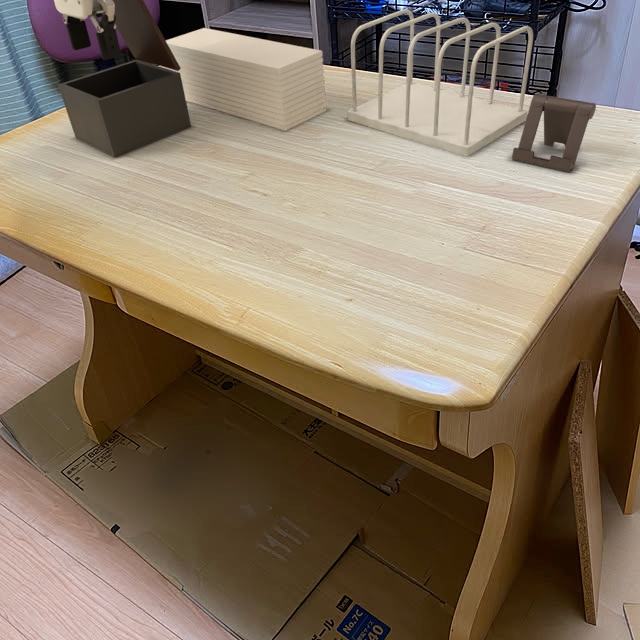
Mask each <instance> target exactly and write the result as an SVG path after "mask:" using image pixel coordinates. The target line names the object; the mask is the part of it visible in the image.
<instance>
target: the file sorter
mask: <svg viewBox="0 0 640 640" xmlns="http://www.w3.org/2000/svg"><path fill="white" fill-rule="evenodd" d="M405 14H407V15H408V17H409V19H410V20H407V21H404V22H401V23H398V24H396V25H394V26H391V27H389V28H387V30H385V32H384V33H383V34H382V36H381V39H380V42H379V47H378V96H376V97H374V98H372V99H369V100H368V101H365V102H363V103H362V104H361V103H360V104H359V105H357V77H356V75H357V74H356V73H357V72H356V41H357V37H358V35H359V34H360V33H361V32H362V31H363V30H365V29H368V28H371V27H373V26H377V25H378V24H380V23H383V22H386V21H388V20H391V19H394V18H396V17H399V16H401V15H405ZM429 18H434V19H435V22H436V26H433V27H431V28H429V29H428V28H427V29H426V30H423V31H421V32H417V34H416V35H415V24H416V23H419V22H422V21H424V20H428V19H429ZM460 23H464V24H465V28H466V31H465V32H463V33H461V34H459V35H457V36H454V37H451V38H449V39H447V40H446V41H445V42H444V43H443V44H442V46H441V45H440V44H441V30H443V29H446V28H449V27H452V26H454V25H458V24H460ZM409 26H410V29H409V30H410V33H409V40H410V41H409V46H408V49H407V56H406V57H407V60H406V83H404V84H401V85H399V86H397V87H395V88H393V89H391V90H388V91H386V92H384V93H383V88H384V85H383V83H384V50H385V49H384V47H385V42H386V40H387V38H388V37H389V35H390V34H391V33H393V32H395V31H398V30H400V29H404V28H406V27H409ZM492 28H494V29H495V32H496V33H495V34H496V35H495V36H496V37H495V39H494V40H492V41H490V42H488V43H485V44H484V45H482V46H481V47H479V48H478V49H477V51H476V52H475V55H474V56H473V59H472V62H471V65H470V73H469V83H468V84H469V85H468V95H467V94H465V92H466V82H467V73H468V72H467V71H468V63H469V62H468V61H469V52H470V43H471V42H470V41H471V36H474V35H476V34H479V33H481V32H484V31H486V30H488V29H492ZM501 31H502V30H501V27H500V25H499V23H497V22H489V23H487V24H484V25H481V26H479V27H477V28H474V29H472V30H471V23H470V21H469V19H468V18H467V17H458V18H456V19H453V20H449V21H448V22H444V23H442V24H441V18H440V16H439V15H438V13H436V12H429V13H426V14H424V15H420V16H418V17H415V18H414V14H413V12H412V11H411V10H410V9H406V8H404V9H401V10H398V11H395V12H392V13H390V14H387V15H384V16H382V17H379V18H377V19H374V20H371V21H368V22H367V23H364V24H361V25H359V26H358V27H357V28H356V29H355V30H354V32H353V33H352V37H351V40H350V64H351V65H350V67H351V92H352V93H351V94H352V95H351V96H352V108H351V109H349V110H347V121H349V122H352V123H355V124H358V125H362V126H365V127H369V128H371V129H375V130H377V131H378V130H379V131H381V132H384V133H387V134H392V135H394V136H397V137H400V138H404V139H407V140H410V141H414V142H417V143H421V144H424V145H426V146H431V147H433V148H436V149H437V148H438V149H440V150H442V151H443V150H444V151H447V152H451V153H454V154H457V155H460V156H463V157H469V156H471V155H472V154H474V153H476V152H477V151H480V150H481V149H482V148H484V147H486V146H487V145H489V144H491V143H492V142H493V141H496V140H497V139H499V138H500V137H502V136H504V135H505V134H507V133H508V132H509V131H511V130H514V128H516V127H518V126H519V125H521V124H522V123H525V122H526V118H527V115H528V111H529V110H527V109H524V108H523V107H524V103H525V96H526V91H527V83H528V77H529V69H530V63H531V55H532V50H533V44H534V43H533V42H534V31H533V29H532V27H530V26H528V25H524V26H522V27H519V28H517V29H515V30H513V31H511V32H509V33H507V34H505V35H503V36H501V34H502V33H501ZM435 32H436V37H435V38H436V41H435V58H434V59H435V60H434V80H433V86H430V85H425V84H422V83H417V82H414V81H413V79H414V78H413V76H414V75H413V74H414V48H415V45H416V43H417V42H418V41H419V39H421V38H423V37H425V36H429V35H431V34H433V33H435ZM524 32H527V34H528V40H527V41H528V42H527V48H526V50H527V51H526V55H525V63H524V70H523V75H522V81H521V82H522V83H521V88H520V89H521V90H520V94H519V95H520V96H519V98H520V99H519V103H518V107H514V106H510V105H507V104H503V103H499V102H495V101H493V100H494V94H495V93H494V92H495V86H496V85H495V84H496V77H497V69H498V62H499V52H500V46H501V45H500V44H501V43H503V42H505V41H507V40H509V39H511V38H514V37H515V36H518V35H519V34H521V33H524ZM463 39H465V43H464V45H465V46H464V54H463V55H464V56H463V66H462V75H461V86H460V93H459V92H455V91H451V90H447V89H443V88H441V80H442V63H443V57H444V54H445V51H446V50H447V48H448V47H449V46H450V45H452V44H454V43H456V42H460V41H462V40H463ZM440 46H441V47H440ZM492 47H494V54H493V62H492V71H491V80H490V87H489V96H488V100H487V99H483V98H480V97H475V96H474V85H475V78H476V77H475V76H476V70H477V64H478V61H479V59H480V57H481V55H482V54H483V53H484V52H485V51H486V50H488V49H490V48H492Z"/></svg>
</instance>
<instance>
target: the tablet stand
mask: <svg viewBox="0 0 640 640" xmlns="http://www.w3.org/2000/svg"><path fill="white" fill-rule="evenodd" d="M596 108H597V104H596V103H594V102H590V101H589V102H588V101H582V100H576V99H571V98H564V97H558V96H552V95H545V94H539V93H535V94H534V95H532V98H531V101H530V104H529V108H528V110H527V111H528V113H527V118H526V121H524V126H523V129H522V133H521V135H520V140H519V144H518V147H513V150H512V155H511V160H512V161H516V162H519V163H520V162H521V163H525V164H530V165H533V166H534V165H535V166H539V167H542V168H548V169H550V170H551V169H552V170H556V171H560V172H564V173H565V172H566V173H571V172H572V171H573V170H574V168H575V164H576V161H577V159H578V155H579V153H580V149H581V146H582V142H583V139H584V137H585V133H586V130H587V127H588V124H589V121H590V120H592V119H593V117H594V115H595V112H596ZM542 114H543V145H544V146H549V147H554V145H555V143H557V144H562V145H564V151H563V153H562V157H561V156H558V155H552V154H551V155H550V158H545V157H540V156H535V151H534V150H533V149H532V148H533V145H534V142H535V138H536V135H537V132H538V127H539V124H540V121H541V118H542Z"/></svg>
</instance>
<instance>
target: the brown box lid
mask: <svg viewBox="0 0 640 640" xmlns="http://www.w3.org/2000/svg"><path fill="white" fill-rule="evenodd" d="M113 2H114V4H115V17H116V21H115V24H116V31H118V33H119V34H120V36H121V38H122V39H123V41H124V43H125V44H126V46H127V48H128V49H129V51H130V53H131V54H132V56H133V57H134V59H135V60H140V61H143V62H146V63H149V64H153V65H156V66H159V67H163V68H166V69H168V68H169V69H173V70H176V71H179V70H180V69H181V68H180V66H179V64H178V62H177V60H176V59H175V57H174V55H173V53H172V51H171V50H170V48H169V46H168V44H167V42H166V39H165V36H164V35H163V33H162V32H161V30H160V28H159V26H158V24H157V23H156V21H155V19H154V17H153V15H152V13H151V11H150V10H149V8H148V6H147V4H146V3H145V0H113Z"/></svg>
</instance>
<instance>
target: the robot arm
mask: <svg viewBox="0 0 640 640" xmlns="http://www.w3.org/2000/svg"><path fill="white" fill-rule="evenodd" d="M53 2H54V6H55V9H56V10H57V11H58V12H59V14H62V21H63V23H64V24H65V27H66V31H67V36H68V38H69V42H70V45H71V48H72V50H74V51H80V50H83V49H87V48H90V47H91V46H92V42H91V39H90V35H89V30H88V27H87V23H86V19H88V17H89V19H90V21H91V23H92V24H93V26H94V27H95V29H96V31H97V32H95V37H96V40H97V44H98V49H99V52H100V57H101V59H102V60H104V61H108V60H111V59H115V58H118V57H121V55H122V49H121V47H120V43H119V38H118V34H117V28H116V24H115V21H116V17H115V4H114V2H113V0H53ZM99 18H100V19H99Z"/></svg>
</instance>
